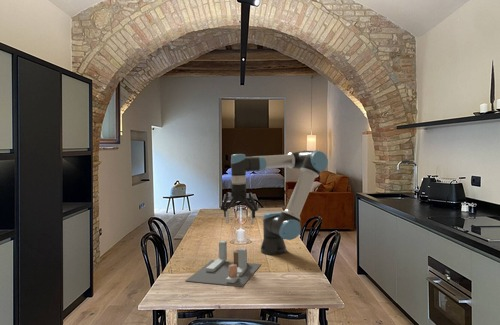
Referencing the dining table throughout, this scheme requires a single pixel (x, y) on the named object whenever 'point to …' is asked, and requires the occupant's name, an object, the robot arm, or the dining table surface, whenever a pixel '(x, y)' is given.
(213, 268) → the grey stepped bracket
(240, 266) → the broken strip
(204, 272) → the mat
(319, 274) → the dining table surface
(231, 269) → the peach egg shape
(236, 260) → the block
